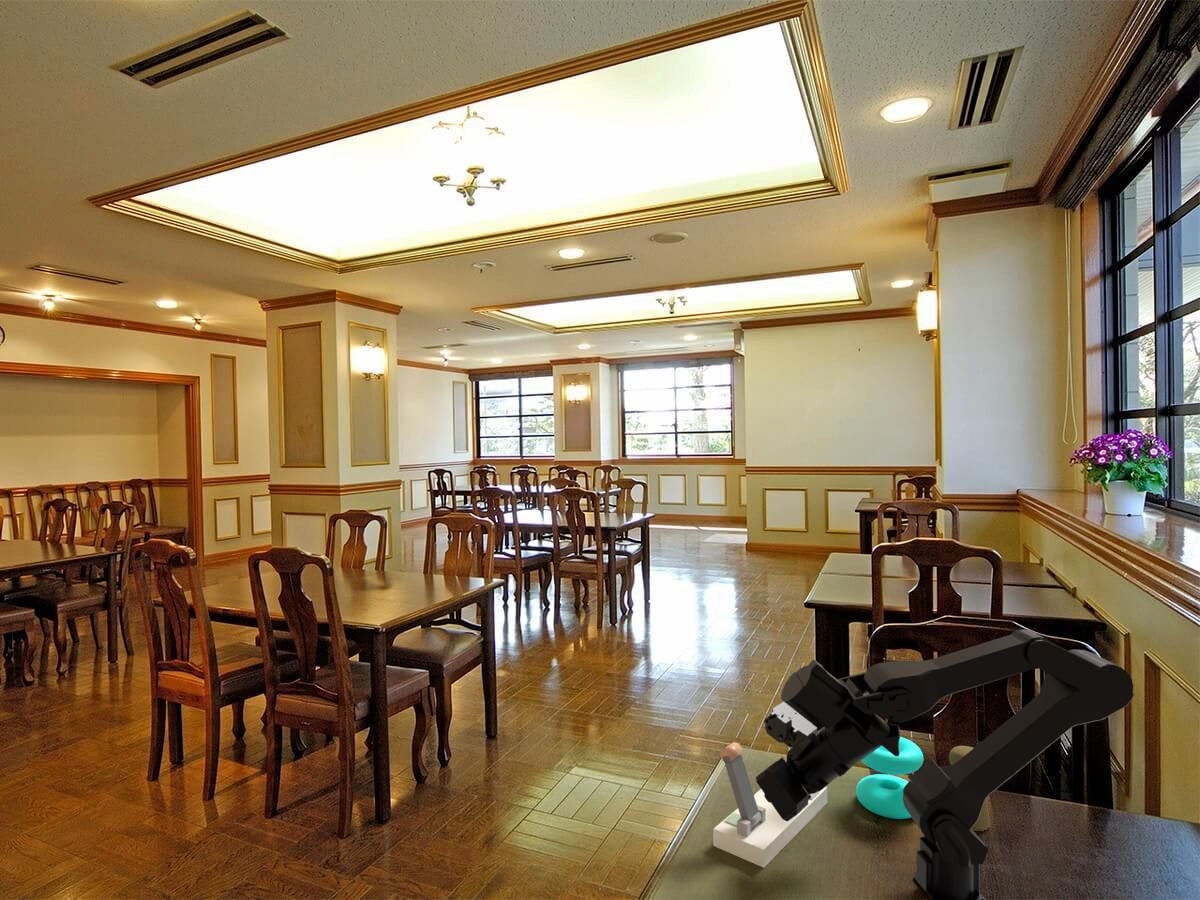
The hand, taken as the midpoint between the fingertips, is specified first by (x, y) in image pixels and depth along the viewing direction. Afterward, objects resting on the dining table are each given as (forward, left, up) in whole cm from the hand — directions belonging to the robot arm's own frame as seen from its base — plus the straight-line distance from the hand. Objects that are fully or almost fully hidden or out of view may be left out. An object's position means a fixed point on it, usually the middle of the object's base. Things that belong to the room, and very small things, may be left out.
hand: (767, 798), depth 99 cm
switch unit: (-3, -7, -7) cm, 10 cm away
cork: (-33, -6, -8) cm, 34 cm away
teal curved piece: (-23, -11, -8) cm, 26 cm away
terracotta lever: (+2, -1, -4) cm, 5 cm away
